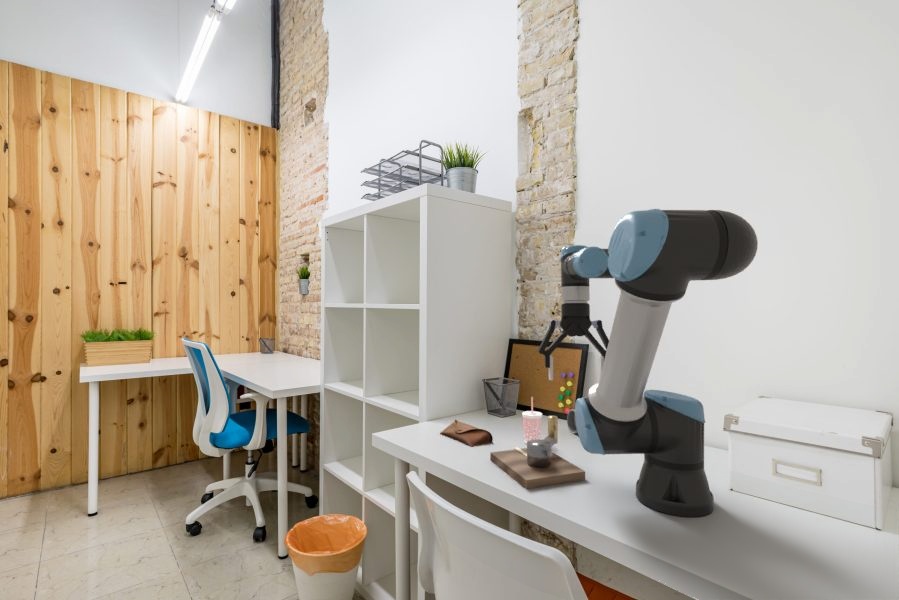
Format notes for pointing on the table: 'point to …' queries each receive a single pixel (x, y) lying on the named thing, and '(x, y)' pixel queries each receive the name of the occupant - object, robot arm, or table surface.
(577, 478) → the walnut stand plate
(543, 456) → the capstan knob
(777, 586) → the table surface
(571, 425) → the ceramic mug
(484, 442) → the sunglasses case
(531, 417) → the beverage cup
